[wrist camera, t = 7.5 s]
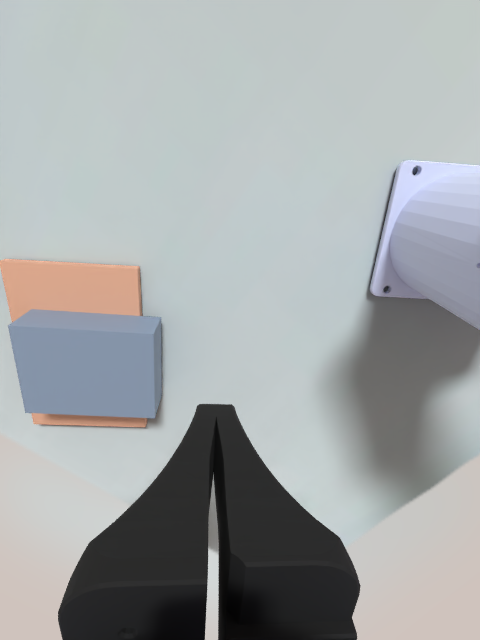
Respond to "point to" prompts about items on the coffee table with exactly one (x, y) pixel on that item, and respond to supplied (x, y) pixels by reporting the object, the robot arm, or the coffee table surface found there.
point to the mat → (73, 306)
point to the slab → (88, 363)
